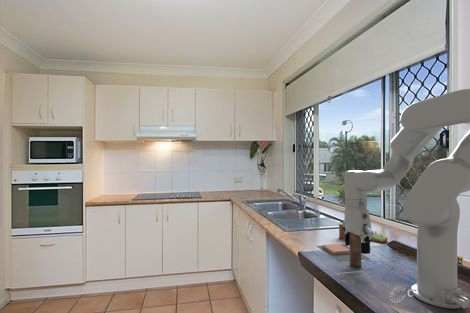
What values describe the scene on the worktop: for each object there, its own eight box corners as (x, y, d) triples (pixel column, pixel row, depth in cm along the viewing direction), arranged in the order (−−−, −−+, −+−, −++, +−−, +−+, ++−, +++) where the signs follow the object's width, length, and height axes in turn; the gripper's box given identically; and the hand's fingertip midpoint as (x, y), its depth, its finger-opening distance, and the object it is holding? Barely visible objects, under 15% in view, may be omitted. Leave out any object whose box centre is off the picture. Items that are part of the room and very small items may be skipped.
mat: (371, 260, 107) (371, 259, 107) (339, 263, 105) (339, 261, 105) (343, 245, 126) (343, 244, 126) (316, 247, 124) (316, 245, 124)
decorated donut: (386, 245, 127) (386, 237, 127) (361, 241, 133) (361, 233, 133) (388, 239, 135) (388, 232, 135) (365, 236, 141) (365, 228, 141)
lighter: (356, 240, 133) (356, 220, 133) (355, 242, 130) (355, 222, 130) (339, 238, 137) (339, 218, 137) (338, 240, 134) (338, 220, 134)
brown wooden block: (363, 269, 100) (363, 233, 100) (354, 269, 99) (353, 234, 99) (357, 264, 103) (356, 231, 103) (347, 265, 103) (347, 231, 103)
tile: (351, 250, 114) (333, 251, 112) (351, 253, 114) (333, 255, 112) (339, 243, 122) (322, 244, 121) (339, 246, 122) (322, 247, 121)
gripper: (381, 206, 93) (382, 256, 93) (351, 199, 110) (352, 242, 110) (361, 207, 92) (363, 258, 91) (334, 200, 109) (335, 243, 108)
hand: (357, 249), depth 101 cm, fingers open, 9 cm apart
